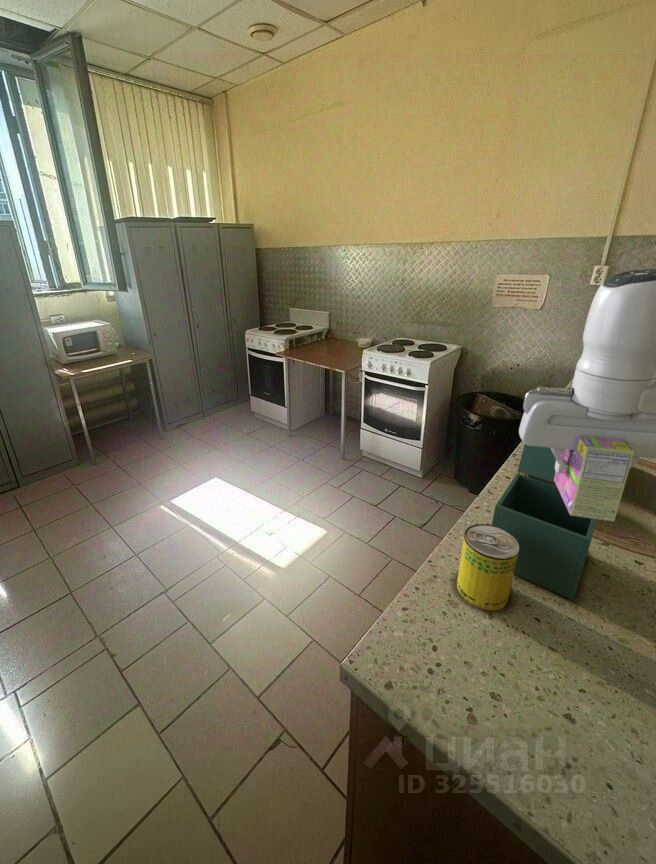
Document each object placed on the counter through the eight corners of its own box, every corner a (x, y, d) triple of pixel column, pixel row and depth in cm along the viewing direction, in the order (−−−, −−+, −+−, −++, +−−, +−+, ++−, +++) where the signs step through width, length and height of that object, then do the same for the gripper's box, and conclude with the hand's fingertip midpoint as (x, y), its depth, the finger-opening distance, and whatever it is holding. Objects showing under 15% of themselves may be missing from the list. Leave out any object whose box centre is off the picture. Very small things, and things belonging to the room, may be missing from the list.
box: (552, 479, 68) (565, 416, 63) (591, 484, 66) (608, 420, 62) (568, 516, 59) (585, 446, 54) (614, 523, 57) (636, 451, 53)
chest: (573, 600, 73) (591, 540, 68) (485, 560, 83) (495, 505, 78) (586, 553, 84) (602, 499, 79) (507, 523, 94) (517, 473, 89)
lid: (626, 416, 77) (626, 416, 77) (536, 399, 86) (537, 399, 87) (603, 497, 78) (603, 497, 79) (517, 471, 88) (517, 471, 89)
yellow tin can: (512, 615, 70) (524, 563, 66) (458, 604, 73) (466, 552, 69) (503, 577, 78) (513, 528, 74) (455, 568, 81) (462, 520, 77)
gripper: (530, 392, 56) (515, 476, 61) (713, 404, 50) (680, 496, 55) (522, 379, 62) (509, 456, 67) (686, 388, 55) (657, 473, 60)
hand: (587, 474), depth 61 cm, fingers closed on box, 5 cm apart
